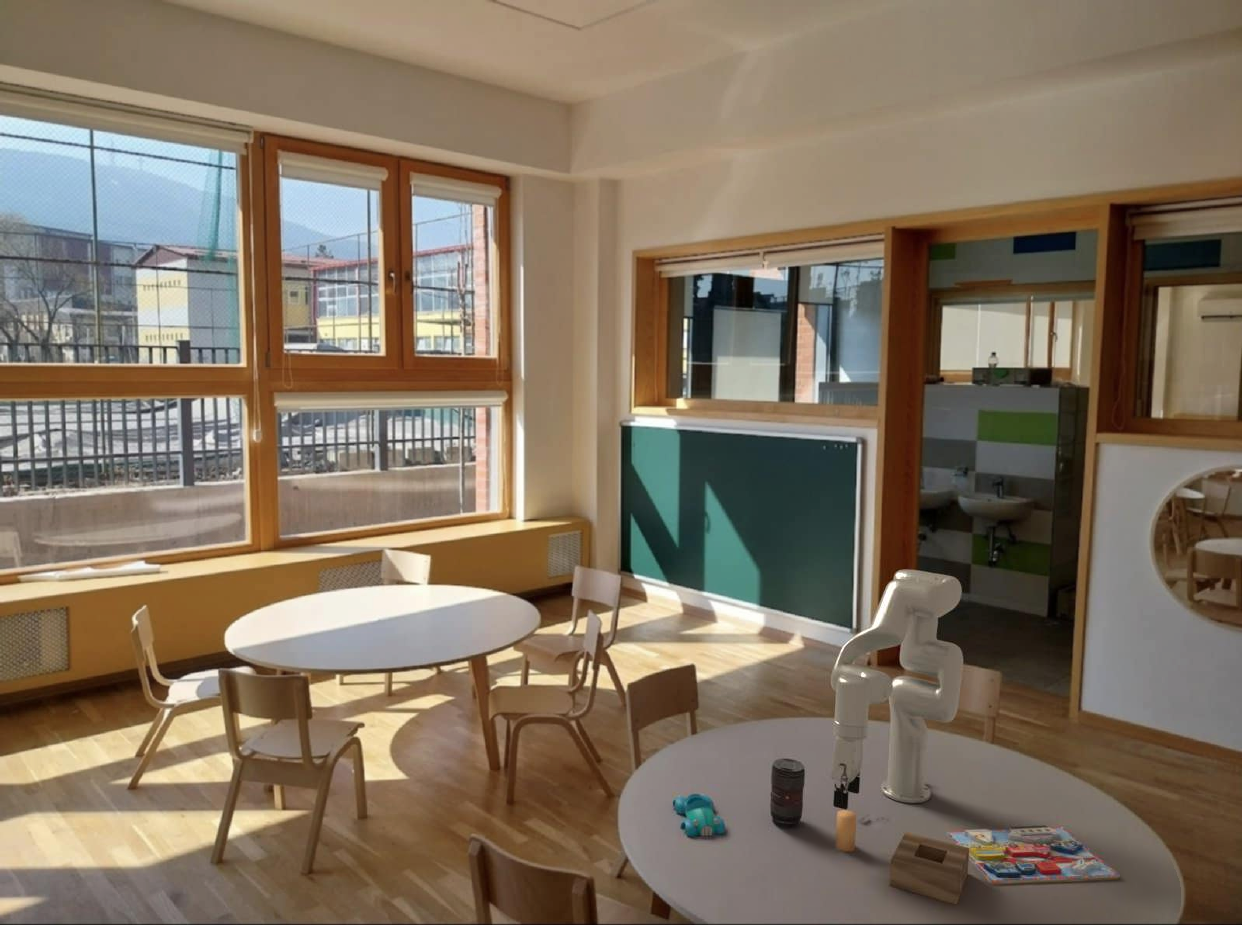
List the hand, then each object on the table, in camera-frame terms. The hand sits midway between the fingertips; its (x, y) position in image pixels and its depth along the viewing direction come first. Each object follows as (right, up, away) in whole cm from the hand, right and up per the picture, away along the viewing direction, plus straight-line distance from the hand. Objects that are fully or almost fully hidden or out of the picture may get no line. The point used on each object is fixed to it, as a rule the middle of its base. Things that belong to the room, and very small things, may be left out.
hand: (846, 799), depth 217 cm
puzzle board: (+43, -14, 0) cm, 45 cm away
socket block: (+16, -14, -11) cm, 24 cm away
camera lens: (-12, -11, +13) cm, 20 cm away
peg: (0, -12, +2) cm, 12 cm away
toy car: (-34, -10, +14) cm, 38 cm away
